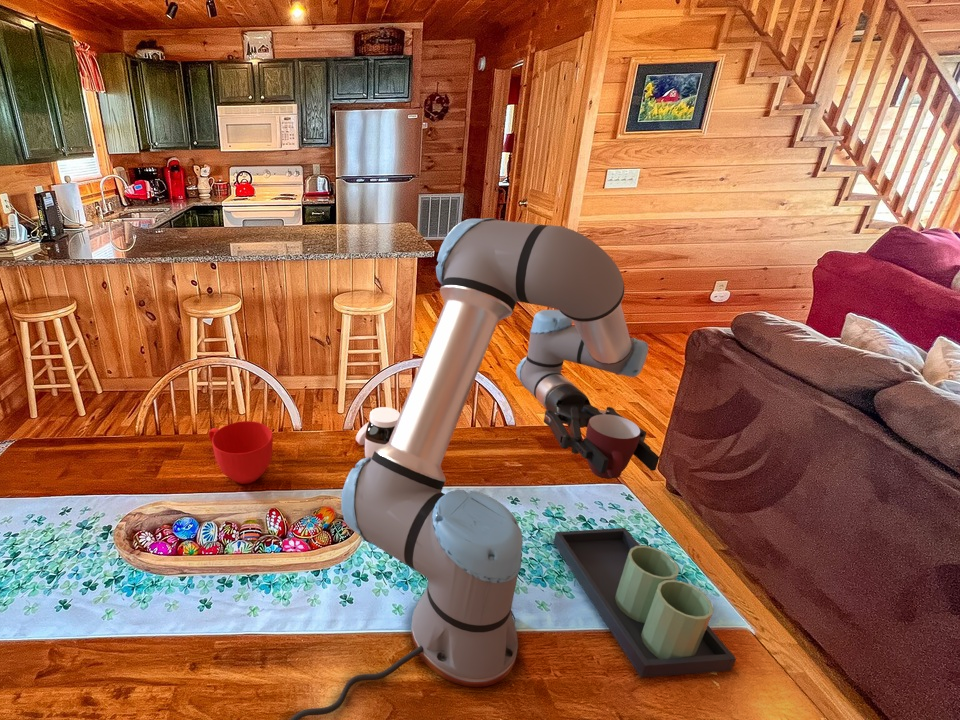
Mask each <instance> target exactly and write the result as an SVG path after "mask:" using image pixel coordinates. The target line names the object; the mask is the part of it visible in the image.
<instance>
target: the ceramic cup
mask: <svg viewBox="0 0 960 720" xmlns="http://www.w3.org/2000/svg"><path fill="white" fill-rule="evenodd" d="M273 435H274V434H273V432H272V429H270V427H269V426H268V425H266V424H264V423H262V422H259V421H251V420H242V421H236V422H232V423H229V424H226V425H224V426H222V427H220V428H217V427H213V428H211V429H209V431H208V437H209V440H210V442H211V444H212V449H213V454H214V457H215V461H216V464H217V465H218V467H219V469H220V470H221V472H222V473H223V474H224V475H225V476H226V477H227V478H229V479H230V480H232V481H233V482H235V483H237V484H242V485H244V484H245V485H247V484H251V483H254V482H256V481H257V480H259V479H260V478H261V476H262V475H263V474H264V473H265V472H266V471H267V469H268V467H269V466H270V463H271V460H272V457H273V447H274V446H273V445H274V444H273V443H274V436H273Z"/></svg>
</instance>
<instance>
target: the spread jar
mask: <svg viewBox="0 0 960 720" xmlns="http://www.w3.org/2000/svg"><path fill="white" fill-rule="evenodd" d="M400 413H401V412H399V411H398V410H397V409H396V408H393V407H390V406H389V407H388V406H380V407H376V408H374V409H373V408H372V410H371V411H370V412H369V421H368V422H366V423H364V424H363V425H362V427H361V428H360V429H359V430H358V432H357V433H356V436H355V441H356V442H357V443H358V445H360V446H364V458H370V457H372V456H373V454H374V451H375V449H376V448H378V447H381V446H383V445H385V444H387V443H388V442H389V440H390V438H391V435H392V433H393V430H394V428H395V425H396V423H397V420H398V418H399V415H400Z"/></svg>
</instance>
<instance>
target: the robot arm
mask: <svg viewBox="0 0 960 720" xmlns="http://www.w3.org/2000/svg"><path fill="white" fill-rule="evenodd" d="M436 261H437V262H438V263H437V265H435V272H436V278H437V280H438V282H439V284H440V285H441V286H440V288H439V293H440V296H441V298H442V300H443V307H442V309H441V312H440V314H439V316H438V320H437V322H436V324H435V327H434V329H433V332H432V333H431V336H430V339H429V341H428V344H427V346H426V349H425V350H424V353H423V356H422V358H421V361H420V363H419V366H418V369H417V371H416V374H415V375H414V378H413V381H412V383H411V386H410V388H409V390H408V394H407V395H406V398H405V401H404V402H403V405H402V408H401V411H400V412H399V413H400V415H399V418H398V420H397V423H396V425H395V428H394V430H393V433H392V435H391V438H390V440H389V442H388V443H387V444H385V445H383V446H381V447H378V448H376V449H375V451H374V454H373V456H372V457H370V458H366V457H364V458H361V459H360V460H358V462H356V463H355V466H354V467H352V468H351V469H350V471H349V473H348V475H347V477H346V479H345V481H344V484H343V487H342V492H341V499H340V507H341V508H340V509H341V510H340V511H341V514H342V516H343V517H342V518H343V520H344V523H345V524H346V526H347V527H348V528H349V529H350V530H351V531H352V532H354V533H355V534H357V535H359V537H361V539H362V540H364V541H365V542H367V543H369V544H372V545H373V546H375V547H377V548H378V549H380V550H382V551H383V552H385V553H386V554H388V555H390V556H391V557H392V558H394V559H396V560H398V561H399V562H400V563H403V564H404V565H406V566H407V567H409V568H411V569H412V570H414V571H415V572H416V573H419V574H420V575H421V576H424V577H425V578H426V579H427V587H426V588H425V590H424V592H423V593H422V595H421V597H420V598H419V599H418V601H417V603H416V604H415V606H414V609H413V612H412V617H411V624H410V625H411V626H410V627H411V628H410V631H411V639H412V643H413V646H414V648H415V649H413V650H411V652H408V653H407V654H406V655H404V656H403V657H401V658H400V659H398V660H397V661H396V662H394V663H393V664H392V665H391V666H390V667H388V668H386V669H385V670H382V671H380V672H377V673H361V674H358V675H355V676H353V677H352V678H350V679H349V680H348V681H347V682H346V683H345V685H344V687H343V689H342V691H341V693H340V695H339V697H338V699H337V700H335V702H334V703H332V704H331V705H329V706H326V707H315V708H306V709H303V710H301V711H298V712H297V713H296V714H294V715H293V716H292V717H291V718H290V719H289V720H300V719H303V718H305V717H309V716H321V715H322V716H323V715H327V714H331V713H333V712H336V710H338V709H339V708H340V707H341V706H342V705H343V703H344V702H345V700H346V697H347V696H348V693H349V691H350V689H351V688H352V687H353V685H355V684H357V683H359V682H362V681H377V680H381V679H383V678H385V677H387V676H390V675H391V674H392V673H394V672H395V671H397V670H398V669H399V668H400V667H402V666H403V665H405V664H407V662H409V661H411V660H412V659H414V658H415V657H416V656H419V657H420V659H421V660H422V661H423V663H424V664H425V665H426V666H427V667H428V668H429V669H430V670H431V671H432V672H434V673H435V674H436V675H438V676H439V677H441V678H443V679H445V680H446V681H448V682H451V683H453V684H455V685H460V686H464V687H470V688H482V687H483V688H485V687H488V686H492V685H494V684H497V683H499V682H501V681H502V680H504V679H505V678H506V677H507V676H508V675H509V674H510V673H511V671H512V670H513V668H514V666H515V664H516V660H517V655H518V650H519V639H518V633H517V628H516V625H515V623H517V622H516V621H517V620H516V616H515V615H514V612H513V610H512V607H513V603H514V597H515V592H516V587H517V582H518V578H519V572H520V570H521V568H522V562H523V559H522V558H523V552H522V551H523V544H524V543H523V542H524V541H523V539H524V538H523V533H522V529H521V528H520V526H519V523H518V520H517V519H516V517H515V515H514V514H513V513H512V512H511V511H510V510H509V509H508V507H506V506H505V505H504V504H503V503H501V502H500V501H499V500H497V499H495V498H493V497H492V496H490V495H488V494H485V493H483V492H480V491H476V490H470V491H469V492H467V491H466V490H465V489H456V490H451V491H449V492H446V493H444V492H442V491H443V489H444V486H445V483H446V481H447V478H446V476H445V473H444V471H443V468H442V463H443V460H444V457H445V456H446V453H447V451H448V448H449V446H450V444H451V440H452V437H453V436H454V432H455V430H456V427H457V425H458V423H459V420H460V417H461V415H462V413H463V410H464V407H465V406H466V403H467V400H468V398H469V395H470V393H471V390H472V387H473V385H474V382H475V380H476V377H477V376H478V372H479V370H480V367H481V365H482V363H483V360H484V357H485V356H486V352H487V350H488V348H489V345H490V342H491V340H492V338H493V335H494V332H495V330H496V327H497V325H498V323H499V322H500V321H502V320H504V319H507V318H509V317H511V316H512V314H513V312H514V310H515V307H516V305H517V303H525V304H529V305H536V306H541V307H547V308H551V309H543V310H540V311H537V313H535V314H534V316H533V321H532V324H531V328H530V330H529V331H530V334H529V340H528V347H527V356H525V357H524V358H522V359H521V360H520V362H519V363H518V364H517V366H516V370H515V371H516V372H515V373H516V377H517V379H518V381H520V384H522V386H523V388H524V389H526V390H527V391H528V392H529V393H530V394H531V395H532V396H533V397H534V398H535V399H536V400H537V401H538V403H540V404H541V406H542V407H543V408H544V409H545V413H544V417H543V423H544V424H545V425H547V426H548V428H550V430H551V433H552V434H553V435H554V437H555V439H556V441H557V443H558V444H559V446H560V448H562V449H564V450H566V449H569V448H571V453H572V454H574V455H578V454H580V456H581V457H582V458H584V459H586V460H587V459H588V460H589V461H590V462H591V463H592V464H593V465H594V466H595V467H596V469H597V470H598V471H599V472H600V473H606V469H607V465H608V461H609V460H608V459H607V458H606V457H605V455H604V454H603V453H602V452H601V451H600V450H599V449H598V448H597V447H596V446H595V445H594V444H593V443H592V442H591V441H590V440H589V439H588V438H586V437H585V438H583V436H582V430H581V429H582V428H587V426H588V422H589V419H590V418H591V417H593V416H596V415H601V414H609V415H616V416H620V417H623V418H625V417H624V416H623V415H621V414H620V413H618V411H616V410H615V408H613V407H611V406H607V407H606V410H603V409H601V410H600V409H599V408H597V407H595V406H594V405H592V403H591V402H590V399H589V397H588V395H586V394H585V393H584V392H583V391H582V390H580V389H579V388H578V387H577V386H576V385H575V384H574V383H573V382H572V381H570V380H569V379H568V378H567V377H566V376H565V375H563V373H562V368H563V365H564V363H565V361H567V362H570V363H574V364H578V365H582V366H586V367H589V368H593V369H597V370H601V371H604V372H609V373H612V374H615V375H617V376H624V377H629V378H635V377H636V378H637V377H638V376H639V375H640V373H641V372H642V370H643V368H644V366H645V363H646V360H647V357H648V353H649V344H648V342H646V341H645V340H642V339H637V338H636V337H631V336H630V333H629V328H628V325H627V322H626V317H625V314H624V310H623V307H622V302H623V299H624V297H625V291H626V289H625V283H624V278H623V275H622V272H621V270H620V269H619V266H617V264H616V262H615V261H614V260H613V259H612V257H611V256H610V255H609V254H608V253H607V252H606V251H605V250H604V249H603V248H601V246H599V245H598V244H597V243H596V242H594V241H593V240H592V239H590V238H588V237H587V236H586V235H583V234H582V233H580V232H578V231H575V230H574V229H571V228H568V227H565V226H561V225H552V224H549V225H548V224H538V223H530V222H521V221H510V220H501V219H497V218H494V217H485V218H467V219H465V220H462V221H461V222H459V223H457V224H456V225H455V226H453V227H452V229H451V230H450V231H449V232H448V233H447V235H446V237H445V238H444V240H443V241H442V244H441V245H440V248H439V251H438V254H437V258H436ZM565 425H567V428H566V426H565ZM639 428H640V430H641V433H640V438H639V442H638V445H637V448H636V450H635V452H634V454H633V455H634V457H635V458H637V459H638V460H639V461H640V462H641V463H642V464H643V465H644V466H646V468H648V470H650V472H652V471H656V469H657V466H658V463H659V461H660V456H659V455H658V454H657V453H655V452H654V451H653V450H652V448H651V446H650V445H648V443H646V442H645V439H646V437H647V431H646V430H644V429H642V428H641V427H639ZM567 429H568V430H567Z"/></svg>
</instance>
